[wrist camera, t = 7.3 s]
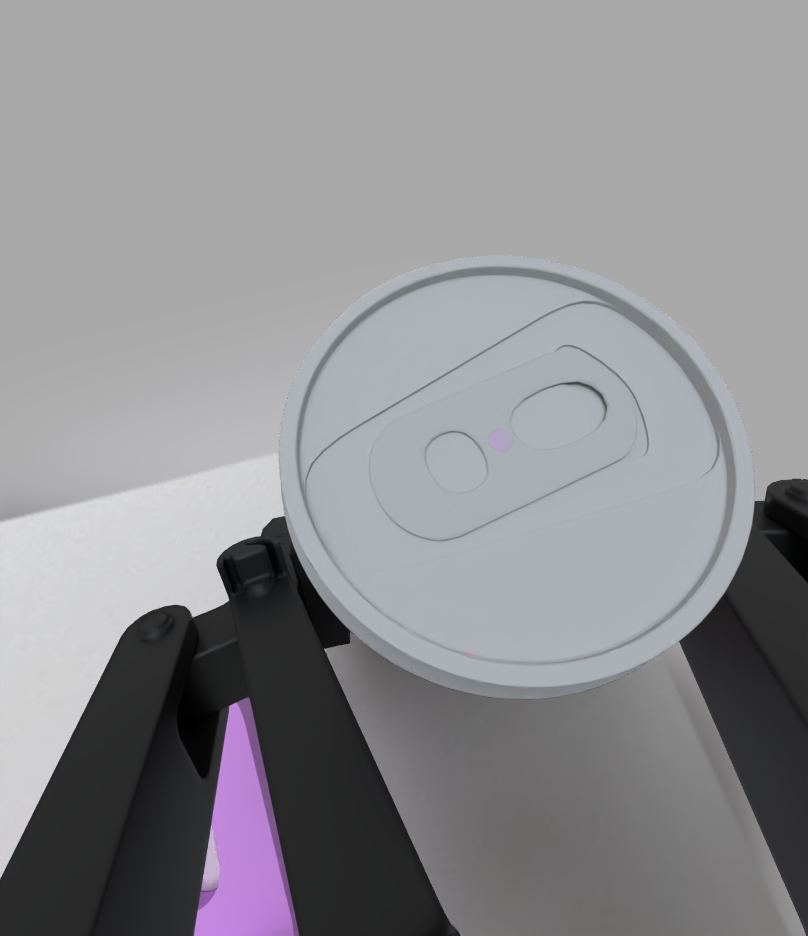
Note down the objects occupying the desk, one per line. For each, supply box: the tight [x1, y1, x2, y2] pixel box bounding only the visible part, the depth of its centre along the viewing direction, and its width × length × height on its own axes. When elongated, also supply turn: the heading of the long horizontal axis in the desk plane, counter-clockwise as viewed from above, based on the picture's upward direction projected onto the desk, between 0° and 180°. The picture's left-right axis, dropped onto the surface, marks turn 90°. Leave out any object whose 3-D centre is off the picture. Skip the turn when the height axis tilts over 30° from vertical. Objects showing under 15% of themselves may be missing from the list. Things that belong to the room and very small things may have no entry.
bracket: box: [194, 697, 299, 936], centre depth 13 cm, size 13×6×7 cm, turn 22°
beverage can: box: [279, 256, 755, 699], centre depth 13 cm, size 7×7×15 cm
